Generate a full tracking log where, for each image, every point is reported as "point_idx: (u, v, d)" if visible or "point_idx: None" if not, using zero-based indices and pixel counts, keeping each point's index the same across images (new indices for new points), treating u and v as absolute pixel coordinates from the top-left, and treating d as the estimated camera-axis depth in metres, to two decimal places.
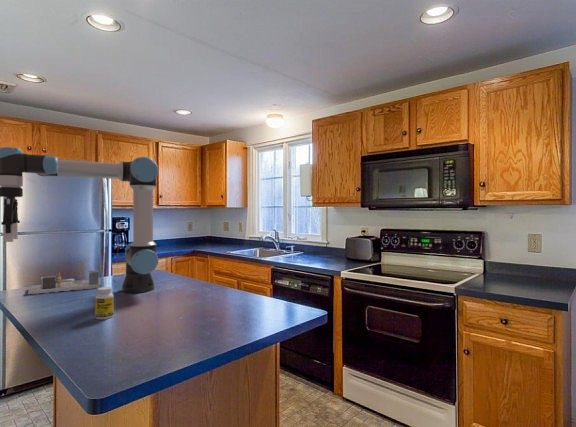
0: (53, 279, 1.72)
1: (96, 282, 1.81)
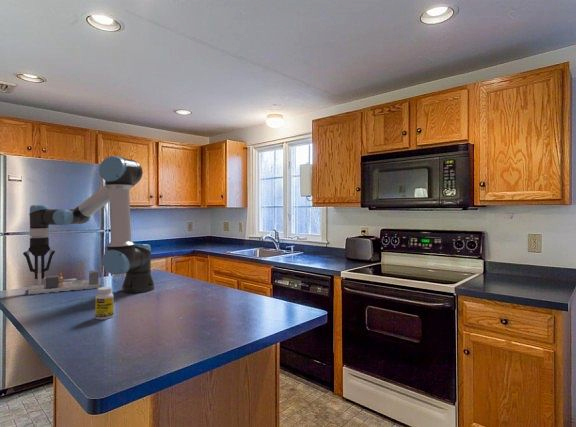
0: (56, 279, 1.73)
1: (96, 282, 1.81)
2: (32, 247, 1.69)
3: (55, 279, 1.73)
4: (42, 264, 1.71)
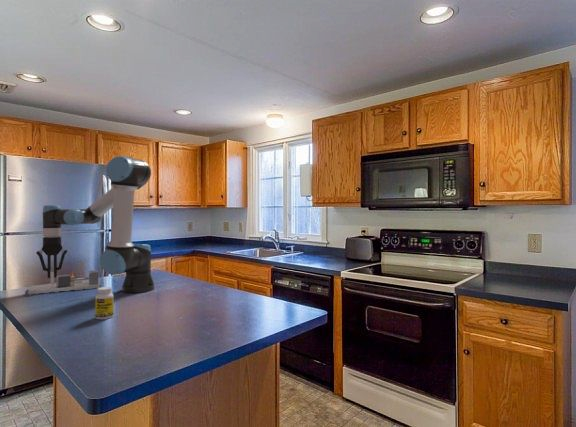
0: (68, 278, 1.75)
1: (96, 282, 1.81)
2: (45, 246, 1.71)
3: (67, 278, 1.75)
4: (55, 263, 1.73)
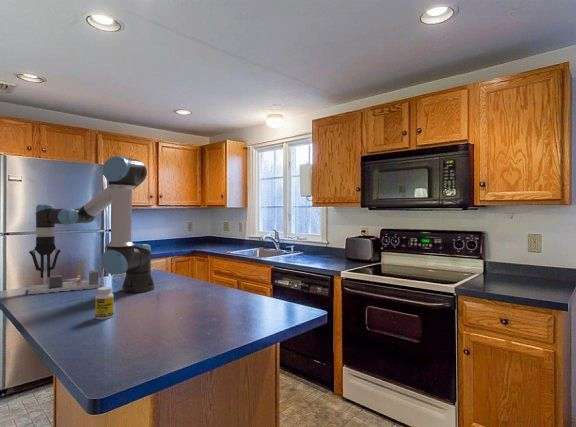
0: (60, 278, 1.74)
1: (96, 282, 1.81)
2: (38, 246, 1.70)
3: (59, 279, 1.73)
4: (48, 263, 1.72)
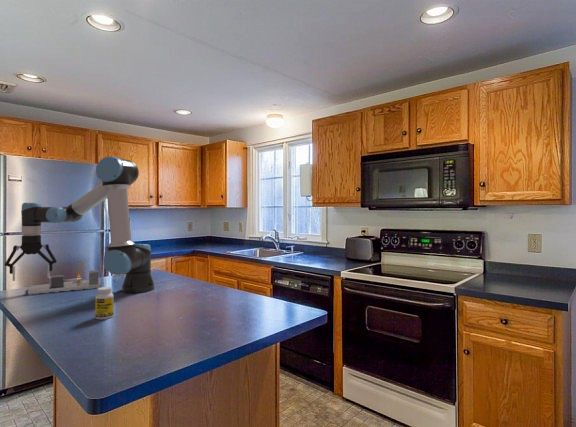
0: (61, 278, 1.74)
1: (96, 282, 1.81)
2: (25, 246, 1.67)
3: (60, 279, 1.74)
4: (45, 258, 1.71)
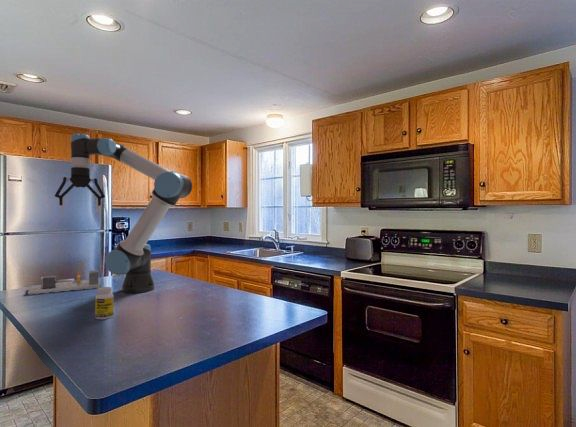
0: (53, 279, 1.72)
1: (96, 282, 1.81)
2: (75, 178, 1.64)
3: (52, 279, 1.72)
4: (94, 192, 1.68)
